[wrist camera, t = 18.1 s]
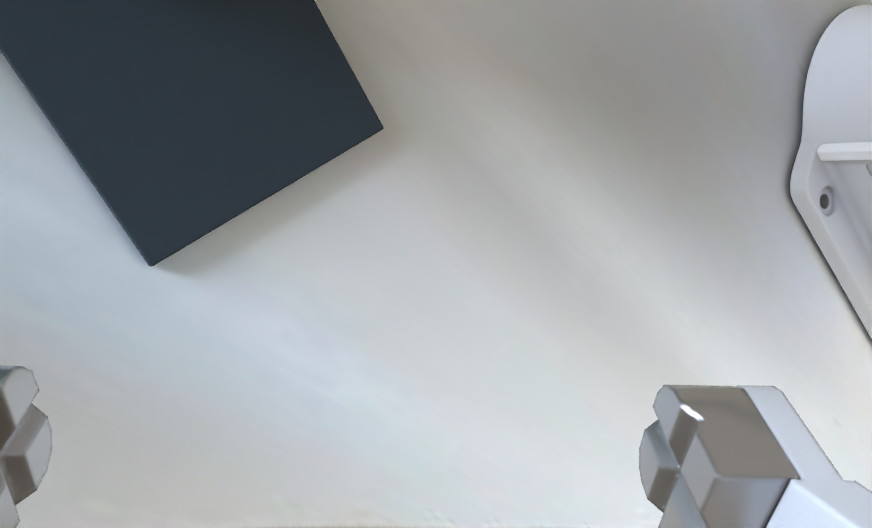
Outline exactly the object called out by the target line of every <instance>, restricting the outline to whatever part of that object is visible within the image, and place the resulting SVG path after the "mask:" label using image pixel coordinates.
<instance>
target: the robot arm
mask: <svg viewBox="0 0 872 528" xmlns="http://www.w3.org/2000/svg"><path fill="white" fill-rule="evenodd" d="M790 193H791V197H792V200H793V202H794V204H795V206H796V207H797V209H798V211H799V213H800V214H801V216H802V218H803V220H804V221H805V223H806V225H807V227H808V228H809V230H810V232H811V234H812V235H813V237H814V239H815V241H816V242H817V244H818V246H819V248H820V249H821V251H822V253H823V255H824V256H825V258H826V260H827V262H828V264H829V265H830V267H831V269H832V271H833V272H834V274H835V276H836V278H837V279H838V281H839V283H840V285H841V286H842V288H843V290H844V292H845V293H846V295H847V297H848V299H849V300H850V302H851V304H852V306H853V307H854V309H855V311H856V313H857V314H858V316H859V318H860V320H861V321H862V323H863V325H864V327H865V328H866V330H867V332H868V334H869V335H870V337H871V339H872V4H863V5H857V6H854V7H851V8H849V9H847V10H845V11H844V12H842V13H841V14H840V15H839V16H837V17H836V18H835V19H834V20H833V21H832V22H831V24H830V25H829V26H828V27H827V29H826V30H825V32H824V33H823V35H822V37H821V38H820V40H819V42H818V44H817V47H816V49H815V51H814V54H813V57H812V60H811V63H810V66H809V70H808V74H807V79H806V85H805V92H804V102H803V126H802V138H801V144H800V147H799V150H798V153H797V156H796V160H795V163H794V166H793V170H792V174H791V180H790ZM38 392H39V388H38V385H37V382H36V380H35V377H34V374H33V371H32V370H30V369H27V368H25V367H22V366H5V365H0V528H16V527H17V525H18V524H19V522H20V519H19V516H18V512H17V509H16V506H15V505H16V504H18V503H19V502H21V501H22V500H23V499H25V498H26V497H28V496H29V495H31V494H32V493H33V492H35V491H36V490H37V489H38V487H39V485H40V483H41V481H42V479H43V477H44V475H45V473H46V471H47V468H48V464H49V460H50V455H51V451H52V430H51V427H50V423H49V420H48V416H46V415H45V414H44V413H43V412H41V411H40V410H39V409H38V408H37V407H35V406H34V405H33V404H32V401H33V400H34V398H35V397H36V395H37V393H38ZM653 408H654V411H655V413H656V415H657V418H658V420H657V421H656V422H654V423H653V424H652V425H650V426H649V427H648V428H647V429H645V430H644V434H643V437H642V441H641V444H640V448H639V470H640V476H641V481H642V485H643V488H644V490H645V493H646V496H647V499H648V500H649V501H650V502H651V503H653V504H654V505H655V506H656V507H657V508H658V509H660V510H661V511H662V512H663V513H664V514H663V516H662V519H661V522H660V524H659V527H658V528H872V492H871V491H870V490H868V489H867V488H865V487H864V486H862V485H861V484H859V483H858V482H856V481H844V480H843V479H842V477H841V476H840V474H839V473H838V471H837V470H836V469H835V467H834V466H833V464H832V463H831V461H830V460H829V458H828V457H827V456H826V454H825V453H824V451H823V450H822V448H821V447H820V445H819V444H818V442H817V441H816V440H815V438H814V437H813V435H812V434H811V432H810V431H809V429H808V428H807V427H806V425H805V424H804V422H803V421H802V419H801V418H800V416H799V415H798V414H797V412H796V411H795V409H794V408H793V406H792V405H791V403H790V402H789V401H788V399H787V398H786V396H785V395H784V393H783V392H782V391H780V390H779V389H777V388H776V387H774V386H736V387H734V386H705V385H663V387H662V388H661V389H660V390H659V391H658V393H657V395H656V398H655V401H654V404H653Z"/></svg>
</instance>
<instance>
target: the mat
mask: <svg viewBox="0 0 872 528" xmlns="http://www.w3.org/2000/svg"><path fill="white" fill-rule="evenodd" d="M0 50H1V52H2V53H3V55H4V56H5V57H6V59H7V60H8V62H9V63H10V65H11V66H12V68H13V69H14V70H15V72H16V73H17V75H18V76H19V78H20V79H21V81H22V82H23V84H24V85H25V86H26V88H27V89H28V91H29V92H30V94H31V95H32V97H33V98H34V99H35V101H36V102H37V104H38V105H39V107H40V108H41V110H42V111H43V113H44V114H45V115H46V117H47V118H48V120H49V121H50V123H51V124H52V126H53V127H54V128H55V130H56V131H57V133H58V134H59V136H60V137H61V139H62V140H63V142H64V143H65V144H66V146H67V147H68V149H69V150H70V152H71V153H72V155H73V156H74V157H75V159H76V160H77V162H78V163H79V165H80V166H81V168H82V169H83V170H84V172H85V173H86V175H87V176H88V178H89V179H90V181H91V182H92V184H93V185H94V186H95V188H96V189H97V191H98V192H99V194H100V195H101V197H102V198H103V199H104V201H105V202H106V204H107V205H108V207H109V208H110V210H111V211H112V213H113V214H114V215H115V217H116V218H117V220H118V221H119V223H120V224H121V226H122V227H123V228H124V230H125V231H126V233H127V234H128V236H129V237H130V239H131V240H132V242H133V243H134V244H135V246H136V247H137V249H138V250H139V252H140V253H141V255H142V256H143V257H144V259H145V260H146V262H147V263H148V265H149V266H154V265H155V264H157V263H159V262H160V261H162V260H164V259H165V258H167V257H169V256H171V255H172V254H174V253H176V252H177V251H179V250H181V249H182V248H184V247H186V246H187V245H189V244H191V243H192V242H194V241H196V240H197V239H199V238H201V237H202V236H204V235H206V234H208V233H209V232H211V231H213V230H214V229H216V228H218V227H219V226H221V225H223V224H224V223H226V222H228V221H229V220H231V219H233V218H234V217H236V216H238V215H239V214H241V213H243V212H245V211H246V210H248V209H250V208H251V207H253V206H255V205H256V204H258V203H260V202H261V201H263V200H265V199H266V198H268V197H270V196H271V195H273V194H275V193H276V192H278V191H280V190H282V189H283V188H285V187H287V186H288V185H290V184H292V183H293V182H295V181H297V180H298V179H300V178H302V177H303V176H305V175H307V174H308V173H310V172H312V171H313V170H315V169H317V168H319V167H320V166H322V165H324V164H325V163H327V162H329V161H330V160H332V159H334V158H335V157H337V156H339V155H340V154H342V153H344V152H345V151H347V150H349V149H350V148H352V147H354V146H356V145H357V144H359V143H361V142H362V141H364V140H366V139H367V138H369V137H371V136H372V135H374V134H376V133H377V132H379V131H381V130H382V129H383V126H382V124H381V122H380V120H379V118H378V116H377V115H376V113H375V111H374V109H373V107H372V105H371V104H370V102H369V100H368V98H367V96H366V95H365V93H364V91H363V89H362V87H361V85H360V84H359V82H358V80H357V78H356V76H355V74H354V73H353V71H352V69H351V67H350V65H349V63H348V62H347V60H346V58H345V56H344V54H343V52H342V51H341V49H340V47H339V45H338V43H337V42H336V40H335V38H334V36H333V34H332V32H331V31H330V29H329V27H328V25H327V23H326V21H325V20H324V18H323V16H322V14H321V12H320V10H319V9H318V7H317V5H316V3H315V1H314V0H0Z"/></svg>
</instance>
